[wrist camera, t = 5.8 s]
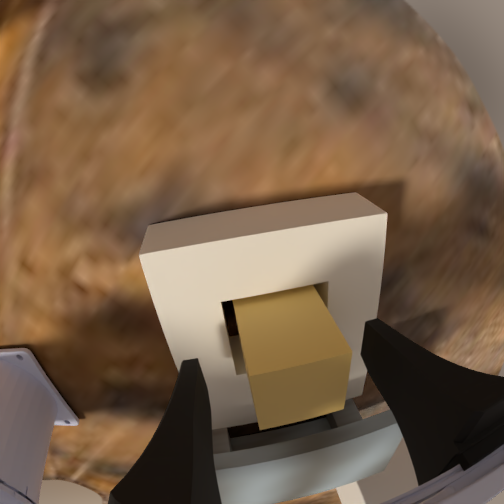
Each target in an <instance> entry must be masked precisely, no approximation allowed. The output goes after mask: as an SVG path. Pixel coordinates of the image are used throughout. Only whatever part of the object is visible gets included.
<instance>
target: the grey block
mask: <svg viewBox="0 0 504 504" xmlns="http://www.w3.org/2000/svg"><path fill="white" fill-rule="evenodd" d="M402 437H403V436H402V433H401V431H400V428H399V426H398V424H397V422H396V419H395V417H394V415H393V413H392V411H391V409H390V410H388V411H385V412H382V413H380V414H377V415H374V416H371V417H368V418H366V419H362V417H361V415H360V413H359V411H358V409H357V407H356V405H355V403H354V401H353V399H352V398H351V399H347V400H345V404H344V409H342V410H339V411H336V412H332V413H329V414H327V417H325V418H321V419H318V420H314V421H310V422H306V423H302V424H298V425H294V426H290V427H286V428H281V429H277V430H272V431H267V432H262V433H257V434H252V435H247V436H241V437H235V438H230V435H229V433H228V430H227V427H226V428H220V429H213V430H212V439H213V457H214V465H215V471H216V477H217V482H218V487H219V492H220V497H221V502H222V504H275V503H280V502H284V501H289V500H293V499H297V498H301V497H305V496H309V495H313V494H317V493H320V492H324V491H327V490H331V489H334V488H337V487H340V486H343V485H347V484H350V483H353V482H355V481H358V480H361V479H364V478H367V477H369V476H372V475H375V474H377V473H380V472H382V471H384V470H385V468H386V467H387V465H388V463H389V461H390V460H391V458H392V456H393V454H394V452H395V451H396V449H397V447H398V445H399V443H400V441H401V439H402Z"/></svg>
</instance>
